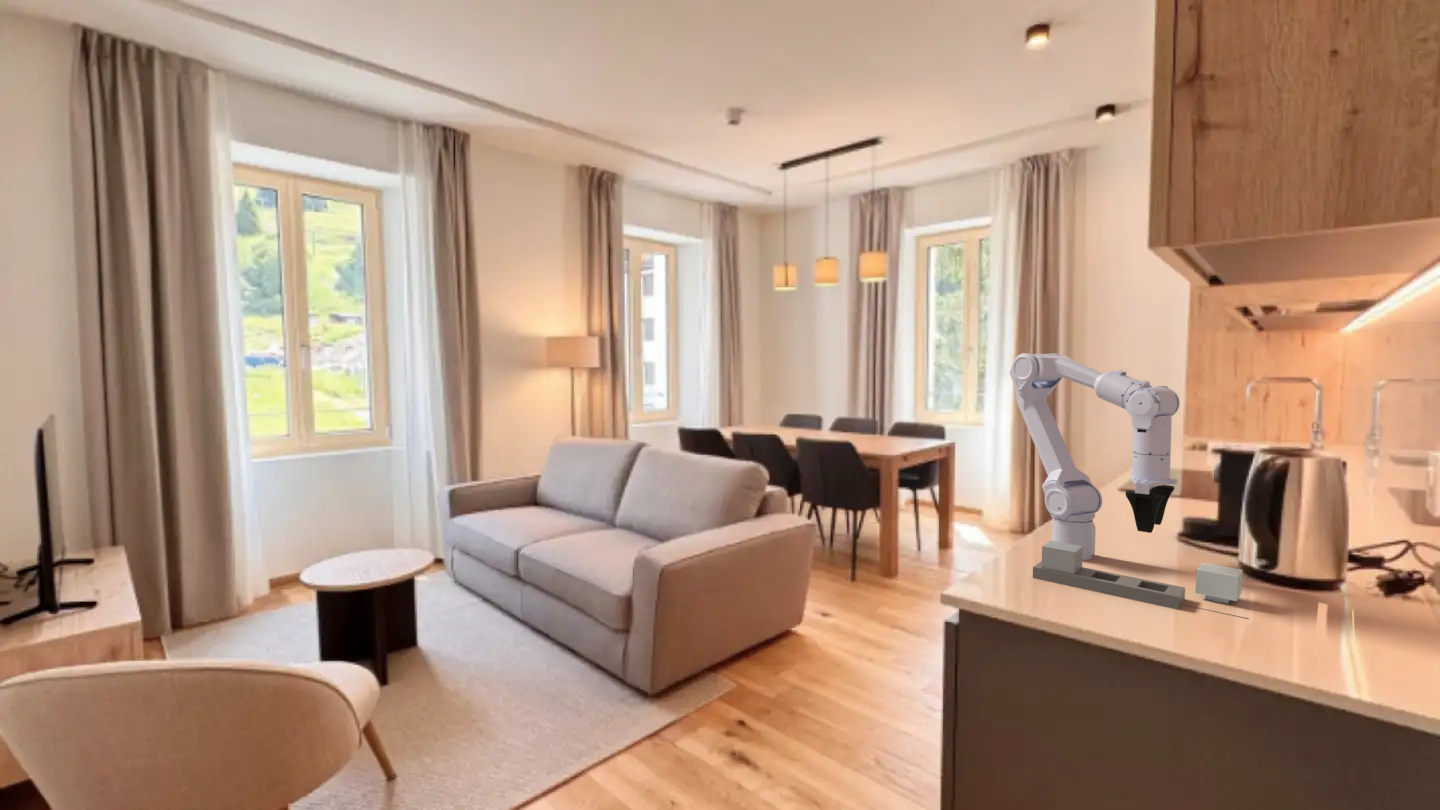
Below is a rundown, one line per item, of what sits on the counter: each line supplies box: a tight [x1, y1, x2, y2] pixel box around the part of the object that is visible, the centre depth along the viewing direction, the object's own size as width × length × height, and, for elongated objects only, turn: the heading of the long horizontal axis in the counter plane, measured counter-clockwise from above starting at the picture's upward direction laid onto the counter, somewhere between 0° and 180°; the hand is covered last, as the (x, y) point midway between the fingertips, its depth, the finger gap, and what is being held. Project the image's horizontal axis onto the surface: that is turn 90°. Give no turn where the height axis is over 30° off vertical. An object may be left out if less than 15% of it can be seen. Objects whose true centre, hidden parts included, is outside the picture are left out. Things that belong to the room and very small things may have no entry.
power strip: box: [1032, 540, 1250, 620], centre depth 109 cm, size 6×30×7 cm, turn 46°
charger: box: [1195, 562, 1243, 605], centre depth 106 cm, size 5×5×6 cm
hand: (1149, 527), depth 116 cm, fingers open, 7 cm apart
